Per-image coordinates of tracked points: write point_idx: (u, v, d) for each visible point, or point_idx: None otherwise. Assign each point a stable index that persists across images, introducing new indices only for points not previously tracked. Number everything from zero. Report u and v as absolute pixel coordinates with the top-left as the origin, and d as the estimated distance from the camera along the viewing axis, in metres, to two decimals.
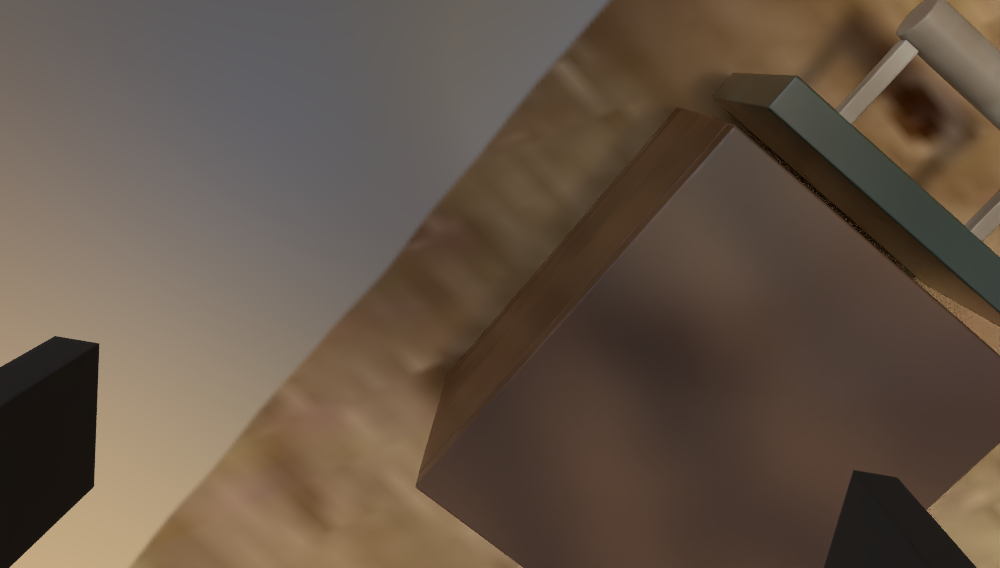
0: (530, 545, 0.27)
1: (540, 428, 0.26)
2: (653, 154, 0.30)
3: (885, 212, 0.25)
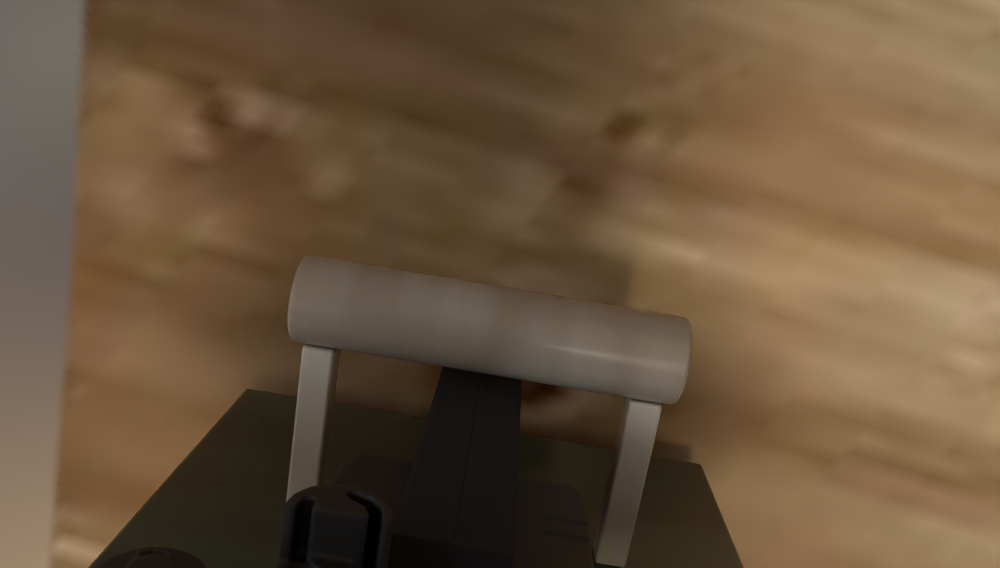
0: None
1: None
2: None
3: None
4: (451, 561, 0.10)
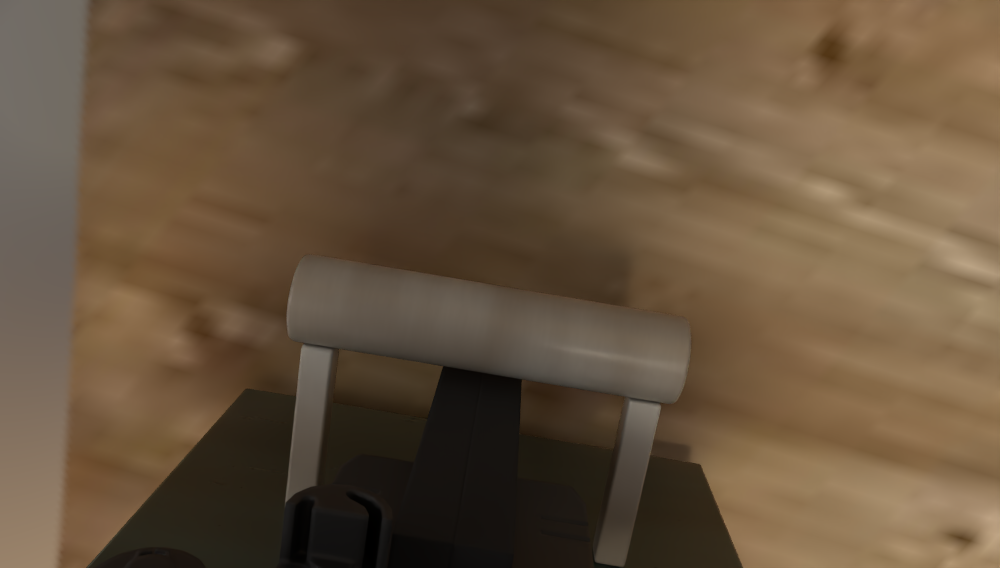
0: None
1: None
2: None
3: None
4: (451, 561, 0.10)
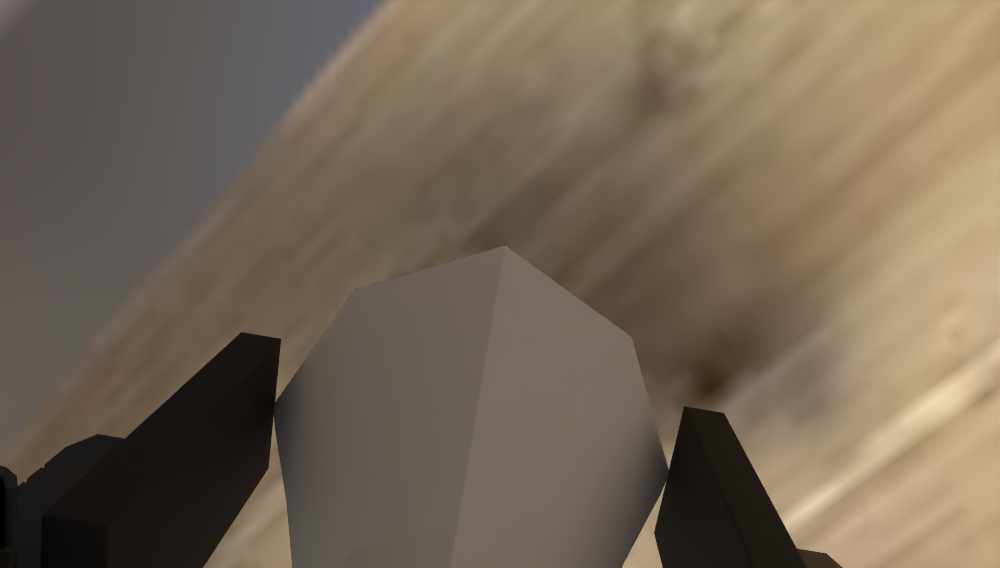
0: None
1: None
2: None
3: None
4: (107, 544, 0.09)
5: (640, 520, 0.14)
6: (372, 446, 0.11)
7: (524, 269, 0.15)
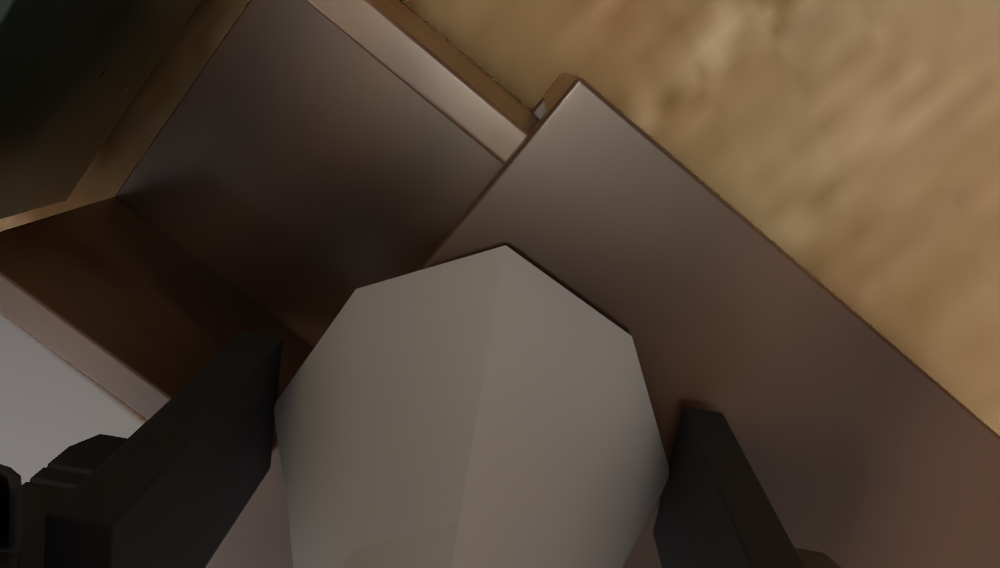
0: None
1: None
2: None
3: None
4: (110, 544, 0.09)
5: (641, 520, 0.14)
6: (373, 446, 0.11)
7: (525, 269, 0.15)
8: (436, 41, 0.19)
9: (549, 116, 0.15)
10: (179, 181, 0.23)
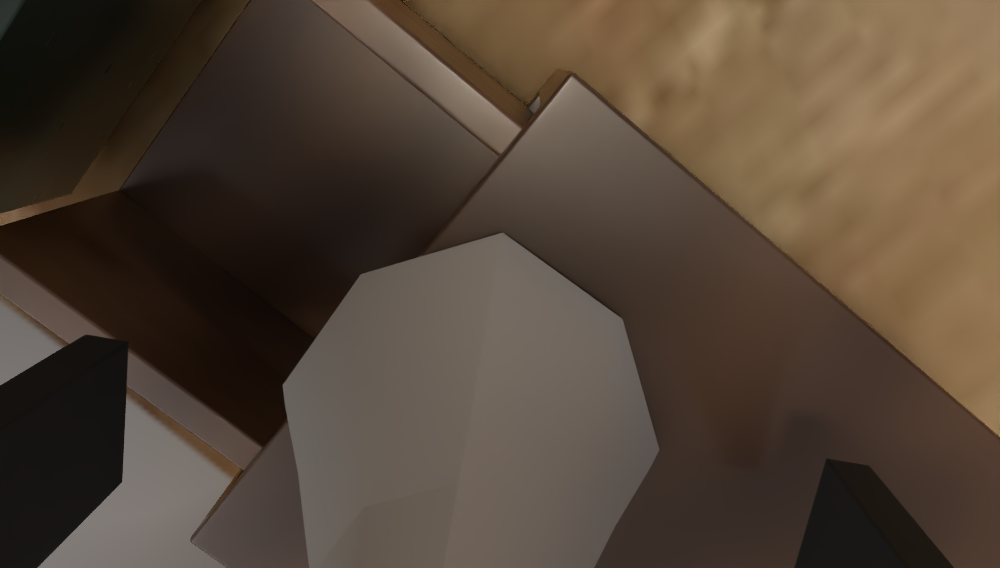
0: None
1: None
2: None
3: None
4: None
5: (630, 490, 0.15)
6: (379, 416, 0.12)
7: (521, 255, 0.15)
8: (434, 37, 0.20)
9: (543, 110, 0.15)
10: (182, 175, 0.24)
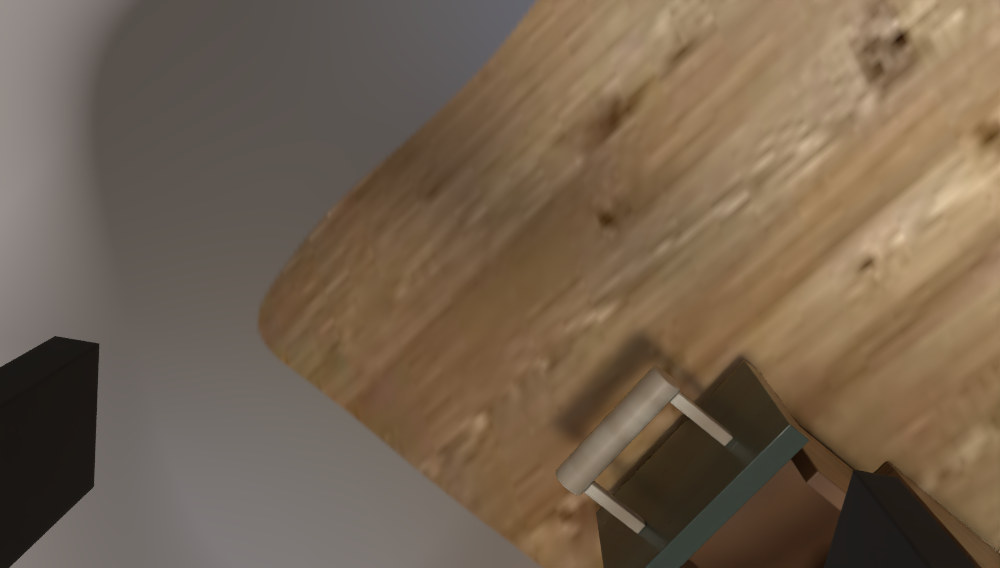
0: None
1: None
2: None
3: (700, 546, 0.37)
4: None
5: None
6: None
7: None
8: None
9: None
10: None
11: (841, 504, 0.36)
